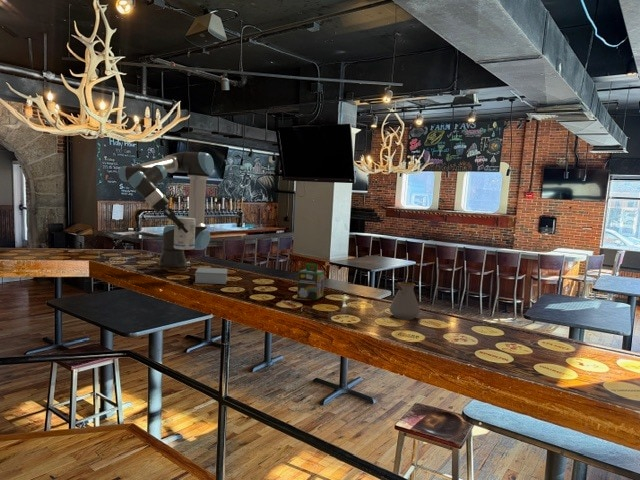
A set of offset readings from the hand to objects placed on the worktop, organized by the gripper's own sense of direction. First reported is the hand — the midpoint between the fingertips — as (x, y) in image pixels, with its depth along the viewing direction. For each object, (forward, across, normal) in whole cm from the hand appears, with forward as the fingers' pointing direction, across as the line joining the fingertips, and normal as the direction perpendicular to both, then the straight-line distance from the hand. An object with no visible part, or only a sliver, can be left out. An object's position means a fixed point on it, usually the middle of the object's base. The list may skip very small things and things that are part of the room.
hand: (191, 236), depth 209 cm
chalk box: (+49, +40, +20) cm, 66 cm away
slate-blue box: (+22, +2, -7) cm, 23 cm away
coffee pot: (+64, +79, +35) cm, 107 cm away
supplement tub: (+2, 0, -6) cm, 7 cm away
